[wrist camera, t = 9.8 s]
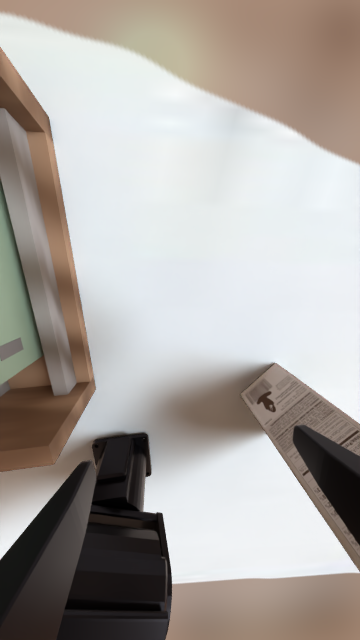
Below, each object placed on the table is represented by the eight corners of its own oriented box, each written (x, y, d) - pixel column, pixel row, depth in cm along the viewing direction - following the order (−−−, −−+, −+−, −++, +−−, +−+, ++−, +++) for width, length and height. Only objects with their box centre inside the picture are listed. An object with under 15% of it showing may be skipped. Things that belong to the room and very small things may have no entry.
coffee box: (311, 401, 24) (603, 640, 8) (276, 431, 24) (485, 708, 9) (275, 360, 21) (588, 586, 6) (236, 394, 22) (427, 685, 6)
